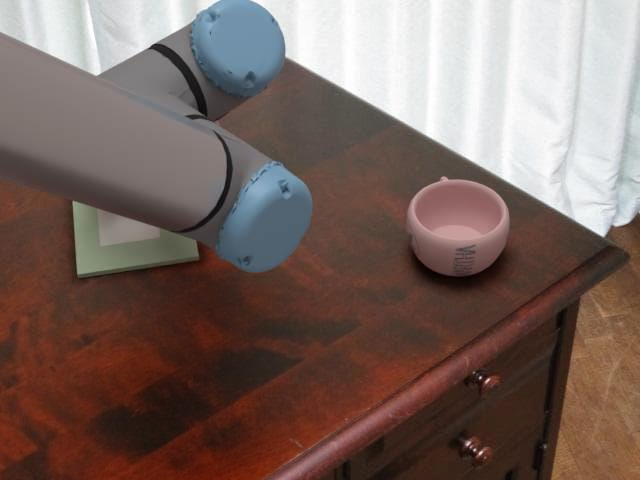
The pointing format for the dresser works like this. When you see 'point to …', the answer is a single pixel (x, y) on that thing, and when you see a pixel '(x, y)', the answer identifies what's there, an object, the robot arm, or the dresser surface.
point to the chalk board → (124, 243)
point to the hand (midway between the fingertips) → (106, 156)
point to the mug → (457, 226)
